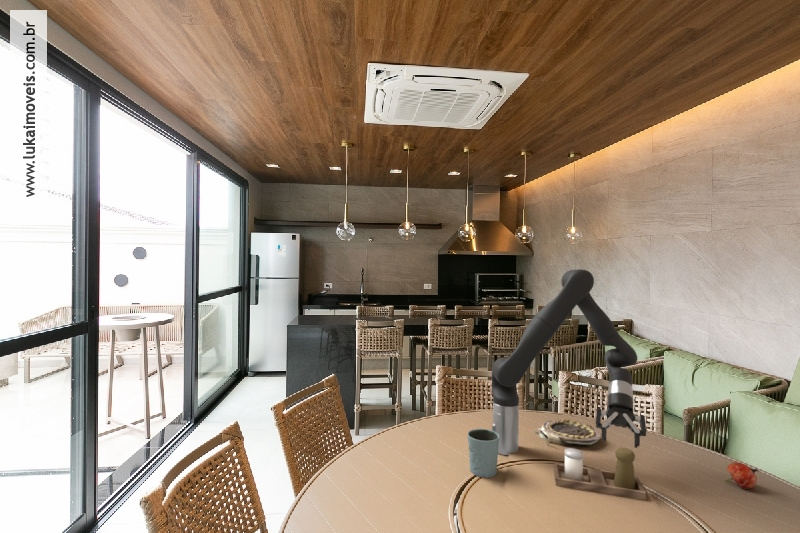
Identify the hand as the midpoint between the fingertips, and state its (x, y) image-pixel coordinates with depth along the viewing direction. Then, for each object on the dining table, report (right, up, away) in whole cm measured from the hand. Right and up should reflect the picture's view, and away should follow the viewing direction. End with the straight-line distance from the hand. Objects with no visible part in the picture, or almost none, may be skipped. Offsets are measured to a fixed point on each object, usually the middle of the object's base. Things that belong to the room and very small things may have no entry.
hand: (620, 443), depth 127 cm
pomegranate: (+37, -13, -1) cm, 39 cm away
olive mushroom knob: (-1, -11, -4) cm, 12 cm away
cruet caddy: (-9, -12, -3) cm, 15 cm away
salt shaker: (-15, -11, -1) cm, 19 cm away
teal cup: (-42, -11, +5) cm, 44 cm away
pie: (-1, -13, +34) cm, 36 cm away
